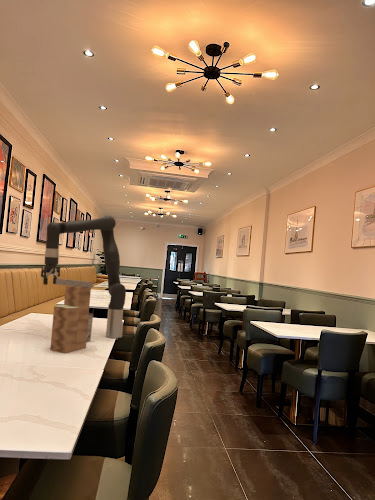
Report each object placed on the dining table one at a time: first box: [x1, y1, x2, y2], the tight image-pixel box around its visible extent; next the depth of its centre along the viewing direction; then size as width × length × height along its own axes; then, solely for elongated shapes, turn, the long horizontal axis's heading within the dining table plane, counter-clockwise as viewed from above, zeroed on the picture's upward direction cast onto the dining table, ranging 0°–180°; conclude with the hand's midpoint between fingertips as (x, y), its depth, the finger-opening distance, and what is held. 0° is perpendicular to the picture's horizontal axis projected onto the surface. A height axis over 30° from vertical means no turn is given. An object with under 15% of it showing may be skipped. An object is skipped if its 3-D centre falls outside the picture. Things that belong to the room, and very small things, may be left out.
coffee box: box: [86, 312, 94, 343], centre depth 205 cm, size 9×6×16 cm
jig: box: [49, 285, 92, 354], centre depth 184 cm, size 10×15×32 cm, turn 157°
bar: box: [55, 278, 94, 289], centre depth 190 cm, size 22×3×3 cm, turn 67°
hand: (50, 284), depth 208 cm, fingers open, 8 cm apart
